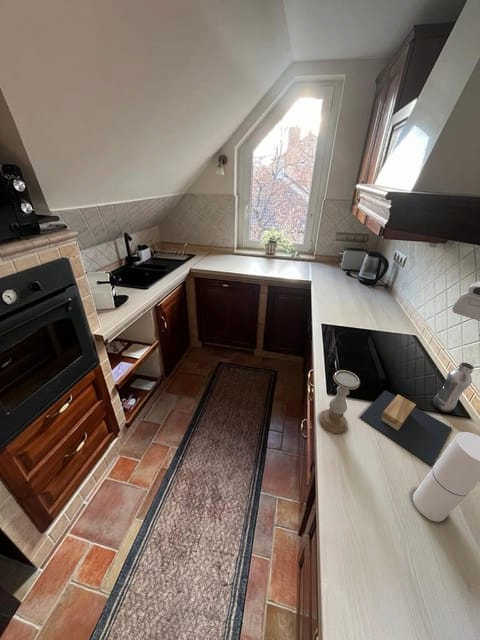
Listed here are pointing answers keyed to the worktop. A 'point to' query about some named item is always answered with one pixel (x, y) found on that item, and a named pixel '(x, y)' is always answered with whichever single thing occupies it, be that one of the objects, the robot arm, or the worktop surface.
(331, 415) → the candle holder
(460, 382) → the plastic bottle
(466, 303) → the robot arm
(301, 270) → the worktop surface
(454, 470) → the cylindrical container
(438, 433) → the mat
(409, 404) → the wooden block
